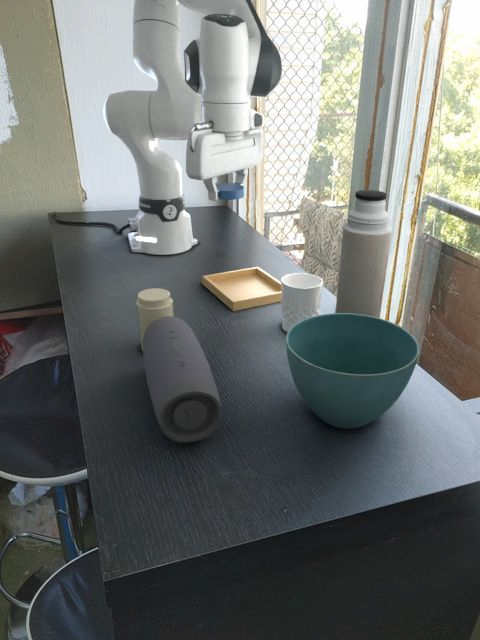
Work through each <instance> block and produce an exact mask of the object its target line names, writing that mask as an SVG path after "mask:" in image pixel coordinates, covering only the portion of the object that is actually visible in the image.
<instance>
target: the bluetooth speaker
mask: <svg viewBox="0 0 480 640" xmlns="http://www.w3.org/2000/svg"><path fill="white" fill-rule="evenodd" d="M142 354H143V355H142V356H143V364H144V370H145V371H144V372H145V376H146V383H147V388H148V393H149V398H150V401H151V404H152V407H153V410H154V414H155V417H156V420H157V423H158V425H159V427H160V429H161V431H162V433H163V434H164V435H165V436H166V437H167V438H168V439H170V440H171V441H174V442H176V443H181V444H182V443H185V444H186V443H194V442H198V441H201V440H205V439H206V438H208V437H210V436H211V435H213V433H214V432H215V431H216V430H217V428H218V427H219V426H220V424H221V421H222V417H223V411H222V410H223V409H222V404H221V403H222V402H221V399H220V394H219V391H218V388H217V385H216V382H215V378H214V376H213V373H212V371H211V366H210V363H209V362H208V359H207V357H206V355H205V353H204V351H203V349H202V346H201V344H200V342H199V340H198V338H197V336H196V333H195V332H194V331H193V330H192V328H191V327H190V325H189V324H188V323H187V322H186V321H185V320H183V319H182V318H179V317H178V316H174V317H173V316H165V317H161V318H158V319H156V320H154V321H153V322H152V323H151V324H150V325H149V326H148V327H147V329H146V331H145V333H144V336H143V351H142Z"/></svg>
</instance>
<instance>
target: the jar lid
mask: <svg viewBox="0 0 480 640" xmlns="http://www.w3.org/2000/svg"><path fill="white" fill-rule="evenodd" d="M234 183H235V182H218V183H215V185H216V188H217V190H220V199H219V200H221V201H234V200H235V201H236V200H240V199H243V198H244V197H245V185H244V186H242V185H240V184H234Z"/></svg>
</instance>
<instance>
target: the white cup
mask: <svg viewBox="0 0 480 640" xmlns="http://www.w3.org/2000/svg"><path fill="white" fill-rule="evenodd" d="M280 282H281V302H280V305H281V307H280V308H281V310H280V311H281V328H282V329H283V331H284V332H286V333H288V331H289V330H290V328H291V327H292V326H294V325H295V324H296V323H298V322H300V321H302V320H304V319H307V318H310V317H313V316H318V315H320V309H321V301H322V293H323V287H324V280H323V278H321V277H320V276H319V275H316V274H313V273H306V272H294V273H288V274H286V275H284V276H282V277H281V279H280Z"/></svg>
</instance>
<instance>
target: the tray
mask: <svg viewBox="0 0 480 640" xmlns="http://www.w3.org/2000/svg"><path fill="white" fill-rule="evenodd" d="M201 278H202V285H203V286H204V287H205V288H206V289H207V290H208V291H210V293H211V294H213V295H214V296H215V297H216V298H218V299H219V300H220V302H222V303H223V304H224V305H225V306H226V307H228V308H229V309H230V310H231V311H233V312H237V311H241V310H245V309H246V310H247V309H252V308H256V307H261V306H265V305H270V304H276V303H281V280H279V279H277V278H276V277H274V276H273V275H271V274H269V273H268V272H267V271H265V270H264V269H262V268H261V267H259V266H254V267H248V268H241V269H237V270H231V271H224V272H218V273H212V274H207V275H202V276H201Z"/></svg>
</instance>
